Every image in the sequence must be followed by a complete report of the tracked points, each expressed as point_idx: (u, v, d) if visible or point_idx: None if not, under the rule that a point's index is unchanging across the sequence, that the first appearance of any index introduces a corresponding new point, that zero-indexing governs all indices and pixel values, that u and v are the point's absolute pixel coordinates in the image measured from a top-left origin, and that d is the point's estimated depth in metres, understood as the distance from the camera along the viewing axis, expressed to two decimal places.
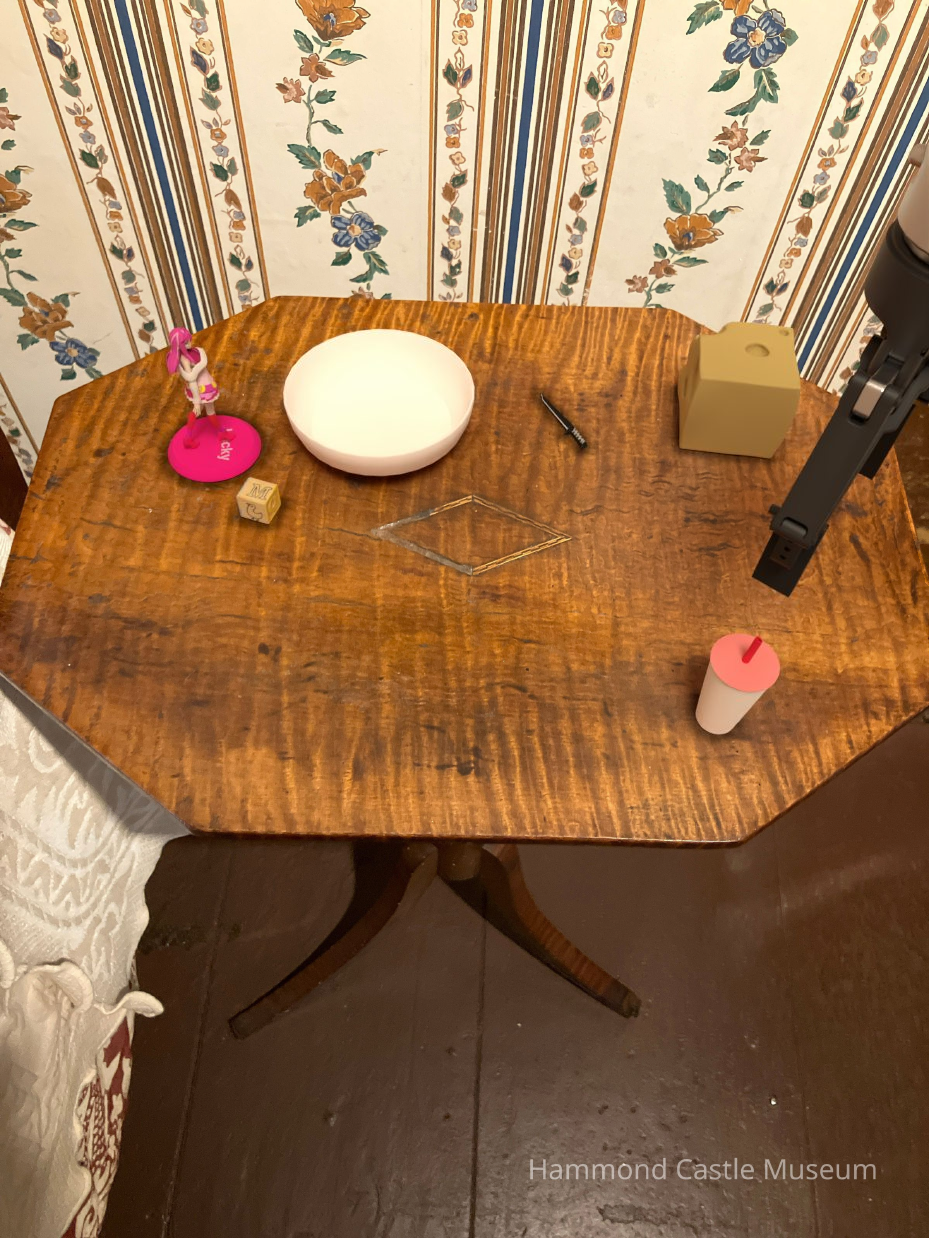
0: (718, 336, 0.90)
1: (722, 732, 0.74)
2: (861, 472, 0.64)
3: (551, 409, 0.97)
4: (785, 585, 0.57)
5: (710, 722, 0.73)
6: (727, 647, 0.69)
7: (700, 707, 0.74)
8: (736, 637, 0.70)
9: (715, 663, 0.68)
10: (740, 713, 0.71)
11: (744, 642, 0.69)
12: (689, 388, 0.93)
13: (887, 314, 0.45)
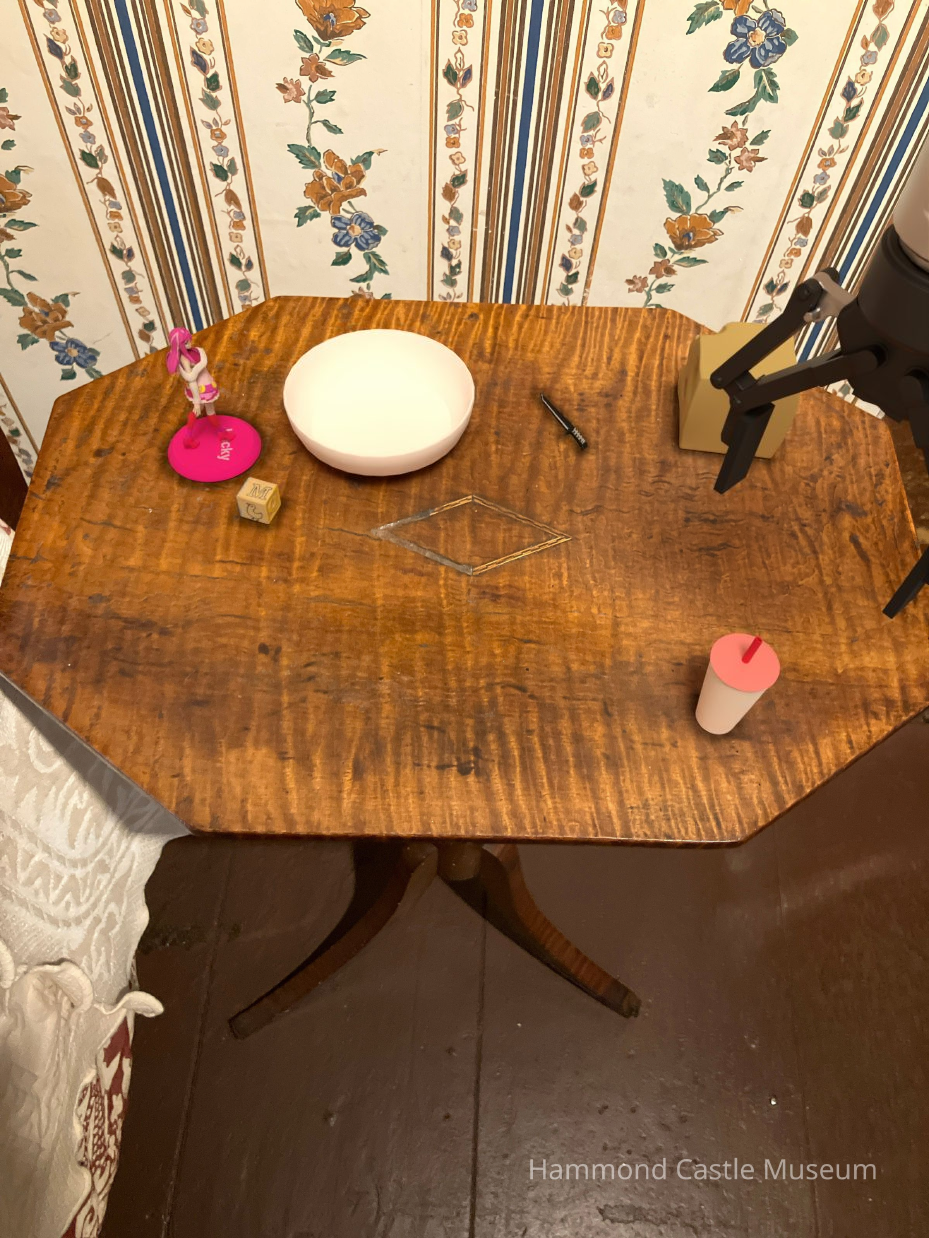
0: (718, 336, 0.90)
1: (722, 732, 0.74)
2: (738, 481, 0.61)
3: (551, 409, 0.97)
4: (917, 593, 0.55)
5: (710, 722, 0.73)
6: (727, 647, 0.69)
7: (700, 707, 0.74)
8: (736, 637, 0.70)
9: (715, 663, 0.68)
10: (740, 713, 0.71)
11: (744, 642, 0.69)
12: (689, 388, 0.93)
13: None
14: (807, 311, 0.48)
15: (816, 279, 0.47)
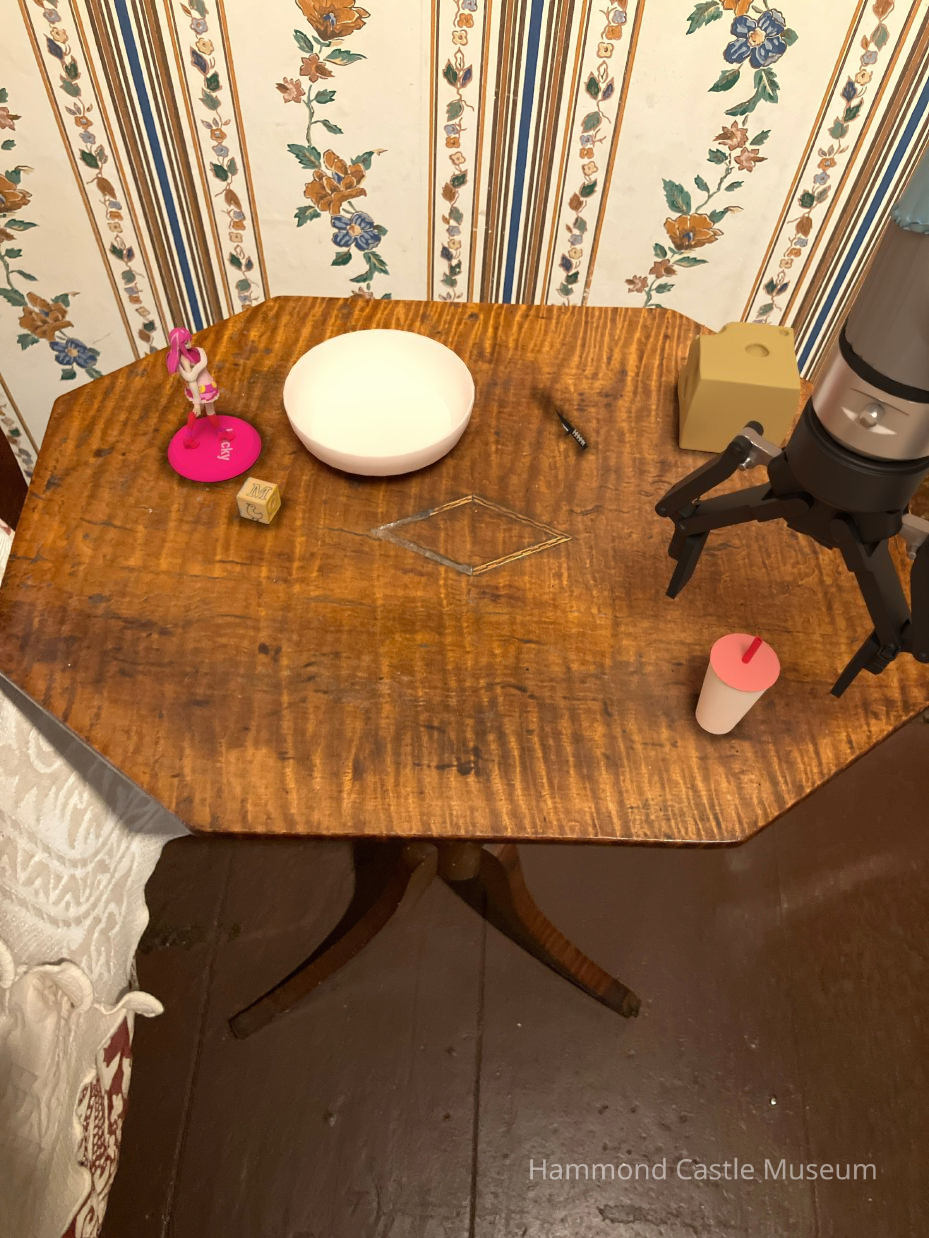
0: (718, 336, 0.90)
1: (722, 732, 0.74)
2: (686, 583, 0.67)
3: None
4: None
5: (710, 722, 0.73)
6: (727, 647, 0.69)
7: (700, 707, 0.74)
8: (736, 637, 0.70)
9: (715, 663, 0.68)
10: (740, 713, 0.71)
11: (744, 642, 0.69)
12: (689, 388, 0.93)
13: (901, 502, 0.49)
14: (740, 462, 0.54)
15: (745, 436, 0.54)
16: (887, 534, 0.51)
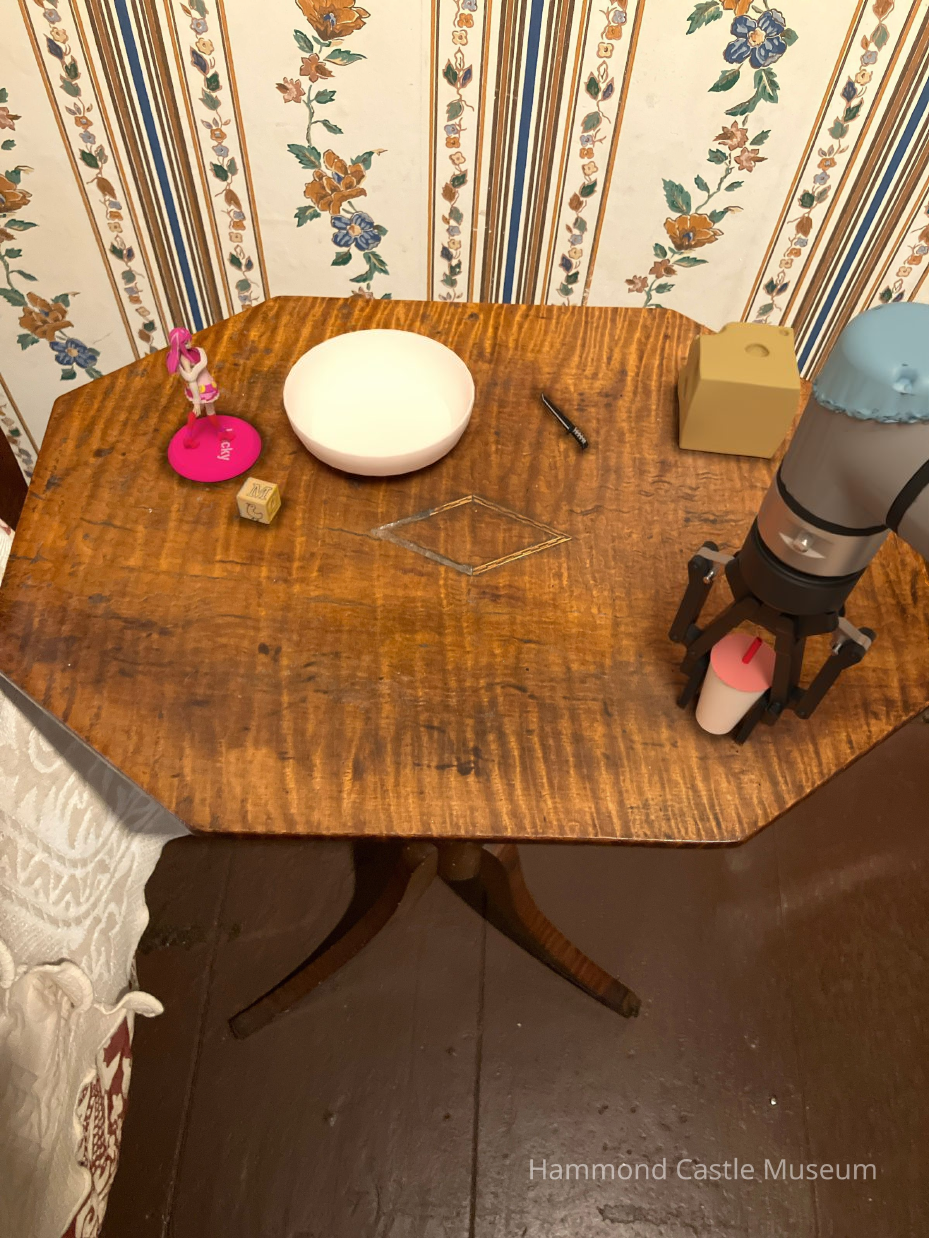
0: (718, 336, 0.90)
1: (722, 732, 0.74)
2: (695, 693, 0.76)
3: (552, 409, 0.97)
4: (758, 721, 0.74)
5: (710, 722, 0.73)
6: (727, 647, 0.69)
7: (700, 707, 0.74)
8: (736, 637, 0.70)
9: (715, 663, 0.68)
10: (740, 713, 0.71)
11: (744, 642, 0.69)
12: (689, 388, 0.93)
13: (835, 606, 0.57)
14: (703, 576, 0.63)
15: (698, 554, 0.63)
16: (826, 630, 0.59)
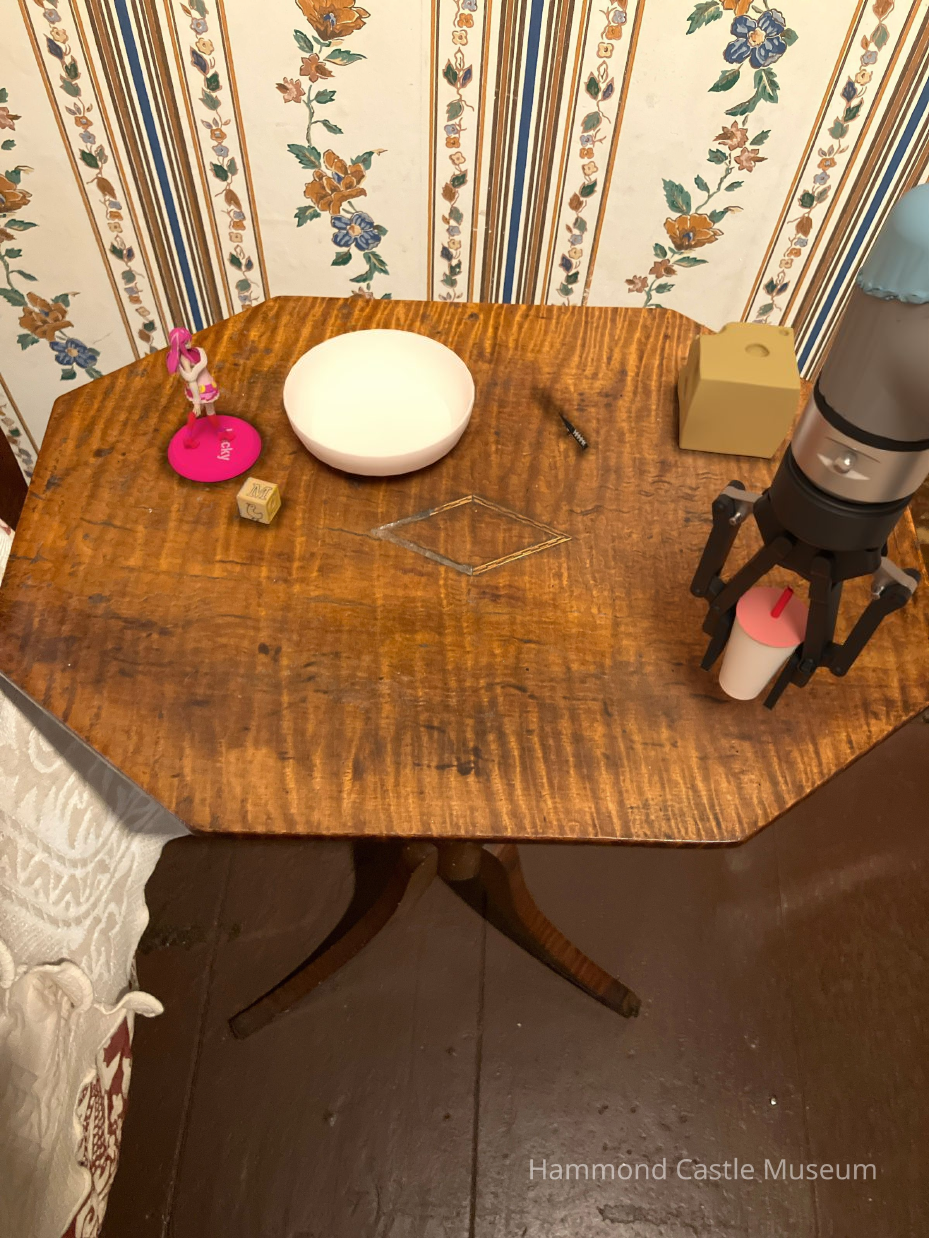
0: (718, 336, 0.90)
1: (748, 697, 0.69)
2: None
3: None
4: (787, 685, 0.68)
5: (735, 686, 0.68)
6: (754, 601, 0.64)
7: (724, 670, 0.68)
8: (764, 591, 0.64)
9: (742, 618, 0.63)
10: (769, 674, 0.65)
11: (773, 596, 0.64)
12: (689, 388, 0.93)
13: (878, 541, 0.51)
14: (729, 518, 0.58)
15: (724, 493, 0.58)
16: (867, 570, 0.54)
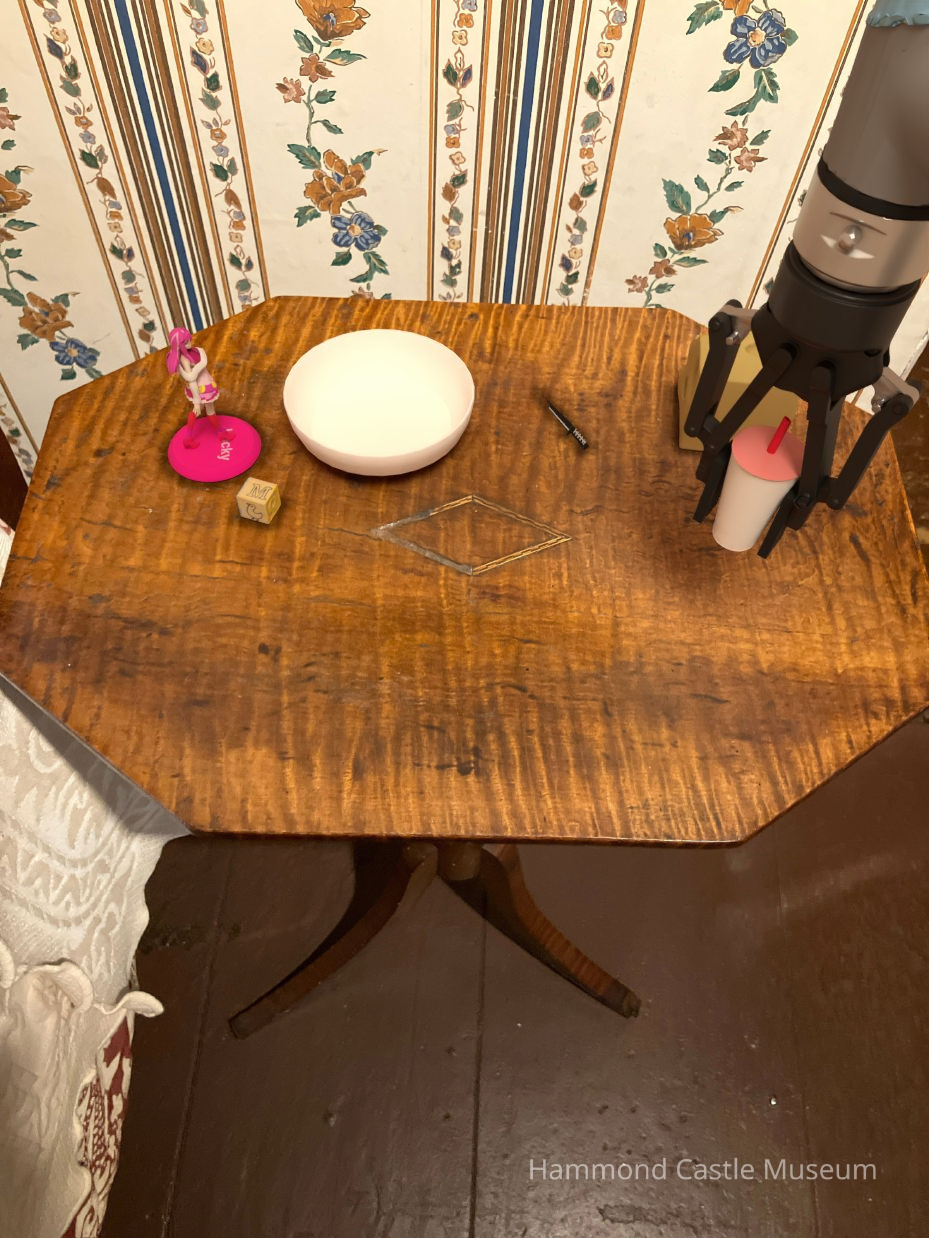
0: None
1: (742, 548, 0.67)
2: (712, 508, 0.69)
3: (552, 410, 0.97)
4: (782, 534, 0.67)
5: (729, 534, 0.66)
6: (750, 438, 0.62)
7: (718, 519, 0.66)
8: (760, 429, 0.62)
9: (737, 453, 0.61)
10: (764, 518, 0.64)
11: (769, 434, 0.62)
12: (689, 388, 0.93)
13: (881, 340, 0.49)
14: (726, 337, 0.56)
15: (721, 311, 0.56)
16: (868, 380, 0.52)
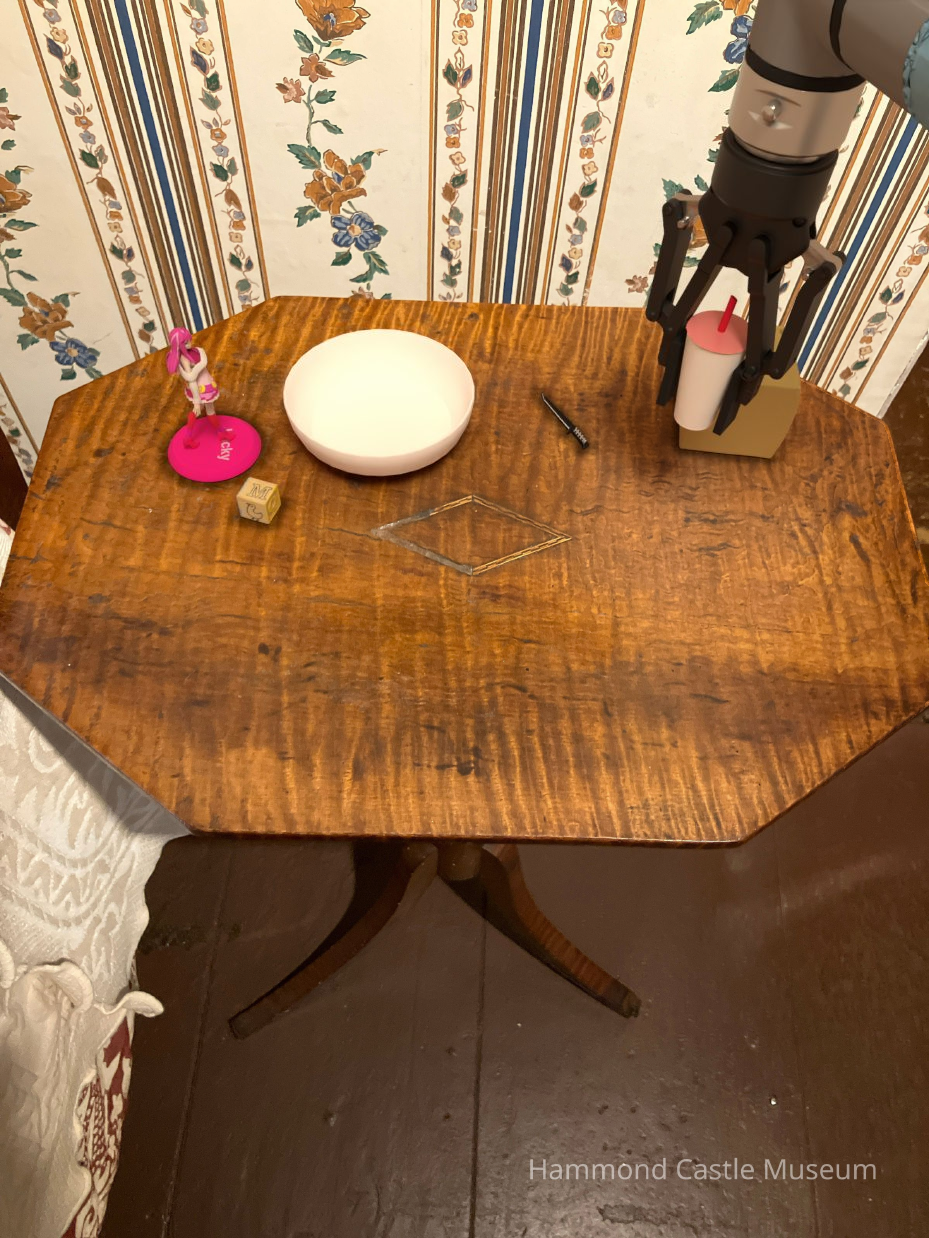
0: None
1: (700, 427, 0.75)
2: (674, 394, 0.77)
3: (552, 409, 0.97)
4: (735, 414, 0.74)
5: (688, 413, 0.74)
6: (703, 320, 0.70)
7: (678, 400, 0.74)
8: (712, 313, 0.70)
9: (691, 332, 0.69)
10: (717, 394, 0.72)
11: (720, 317, 0.70)
12: None
13: (805, 210, 0.57)
14: (677, 220, 0.64)
15: (673, 198, 0.64)
16: (797, 249, 0.60)
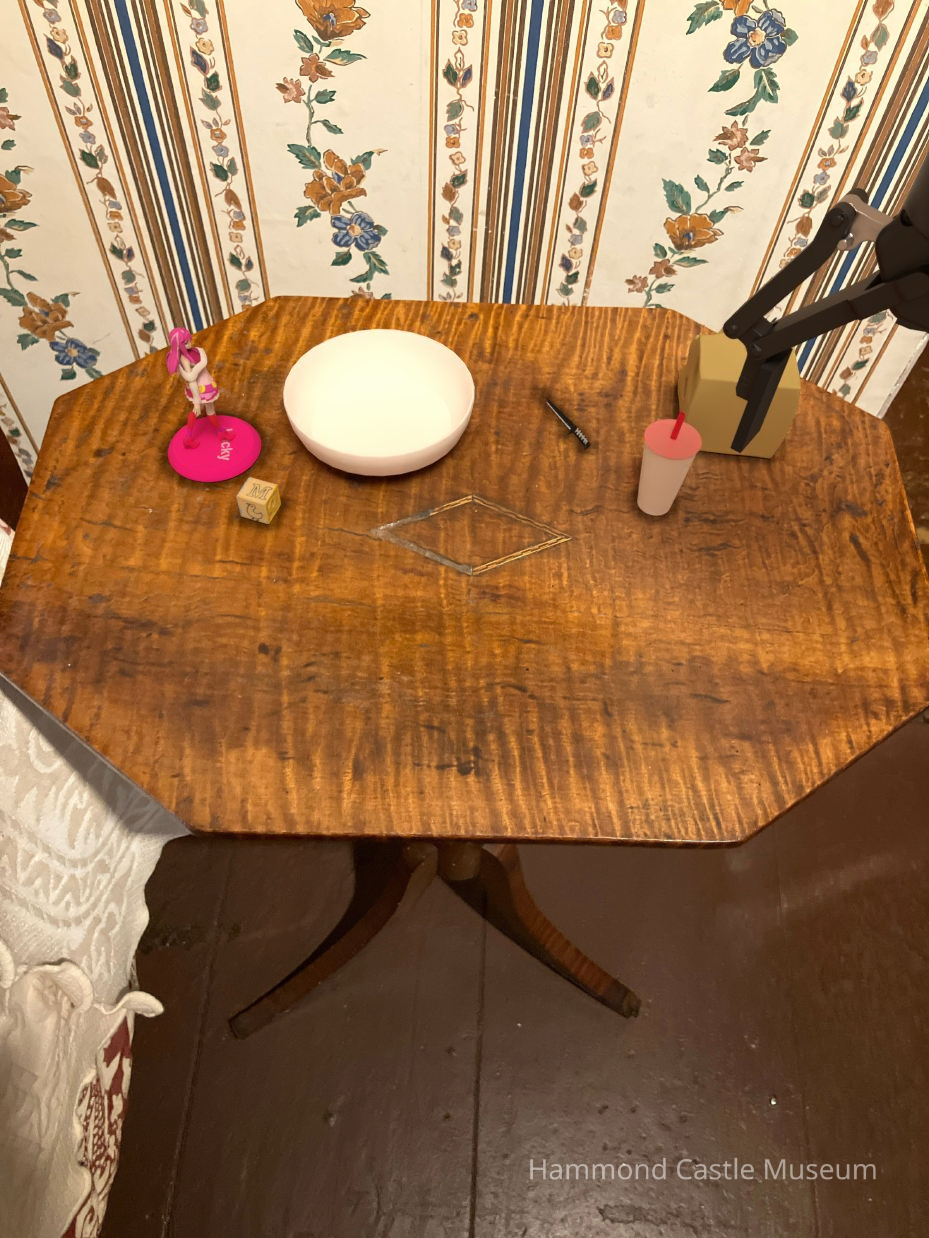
0: (718, 336, 0.90)
1: (659, 513, 0.88)
2: (754, 436, 0.57)
3: (553, 409, 0.97)
4: None
5: (648, 502, 0.87)
6: (659, 428, 0.83)
7: (640, 490, 0.88)
8: (667, 422, 0.84)
9: (648, 439, 0.82)
10: (671, 488, 0.85)
11: (673, 425, 0.83)
12: (689, 388, 0.93)
13: None
14: (841, 238, 0.44)
15: (847, 202, 0.43)
16: None
